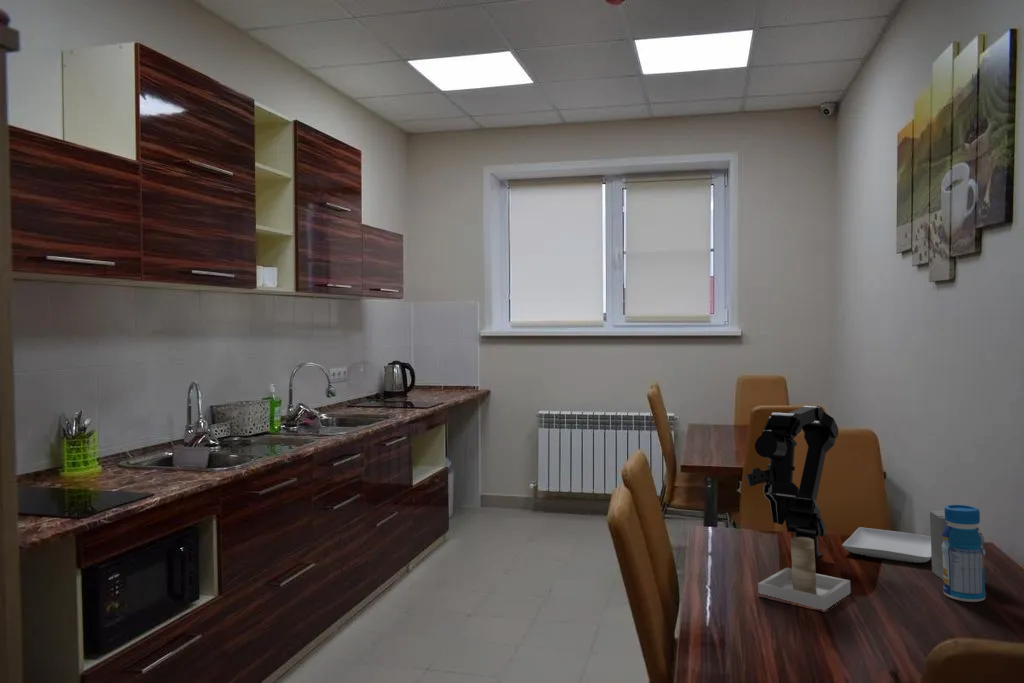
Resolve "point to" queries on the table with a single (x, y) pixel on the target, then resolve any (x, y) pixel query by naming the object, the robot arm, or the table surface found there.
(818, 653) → the table surface
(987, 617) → the table surface
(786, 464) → the robot arm
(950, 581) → the beverage bottle
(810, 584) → the birch peg
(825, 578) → the grey bin
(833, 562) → the table surface
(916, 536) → the salad plate
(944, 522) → the skincare box
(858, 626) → the table surface
